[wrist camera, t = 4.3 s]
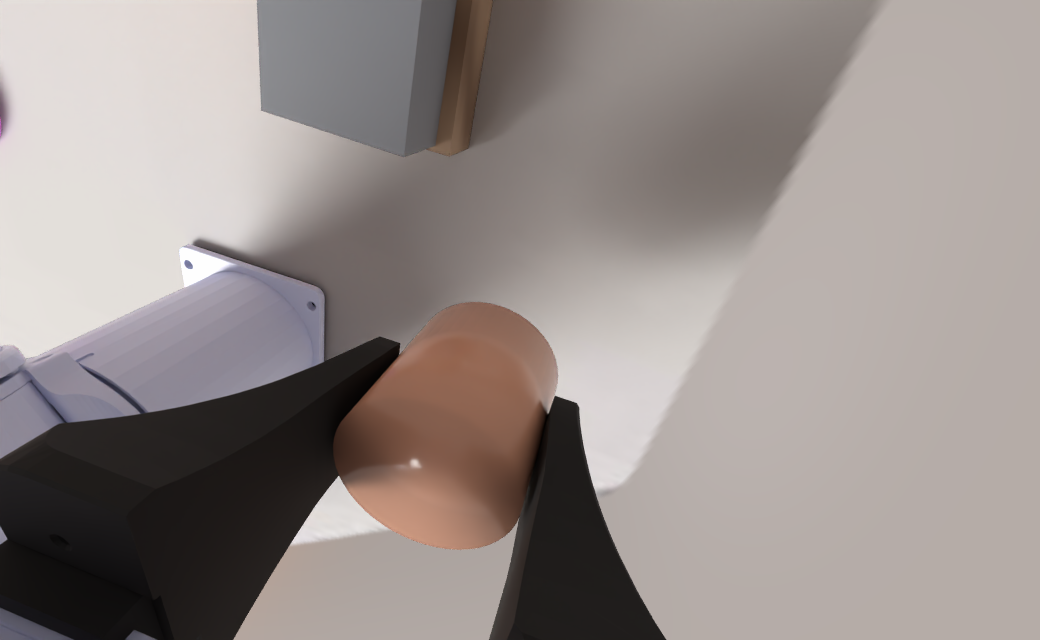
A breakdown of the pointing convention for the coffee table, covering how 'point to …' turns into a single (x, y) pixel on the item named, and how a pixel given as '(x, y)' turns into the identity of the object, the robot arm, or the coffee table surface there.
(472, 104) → the tower base
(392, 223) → the coffee table surface
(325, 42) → the tower top
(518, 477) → the terracotta cylinder
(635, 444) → the coffee table surface
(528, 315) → the coffee table surface
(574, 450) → the robot arm
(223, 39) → the coffee table surface
